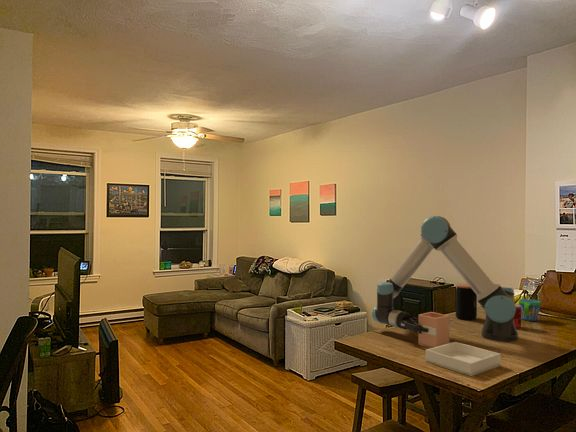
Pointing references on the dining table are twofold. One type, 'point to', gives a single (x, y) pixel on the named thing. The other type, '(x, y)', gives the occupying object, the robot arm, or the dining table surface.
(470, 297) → the coffee jar
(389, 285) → the robot arm
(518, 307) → the canned food
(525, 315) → the snack cup
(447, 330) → the box
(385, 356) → the dining table surface
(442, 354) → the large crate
